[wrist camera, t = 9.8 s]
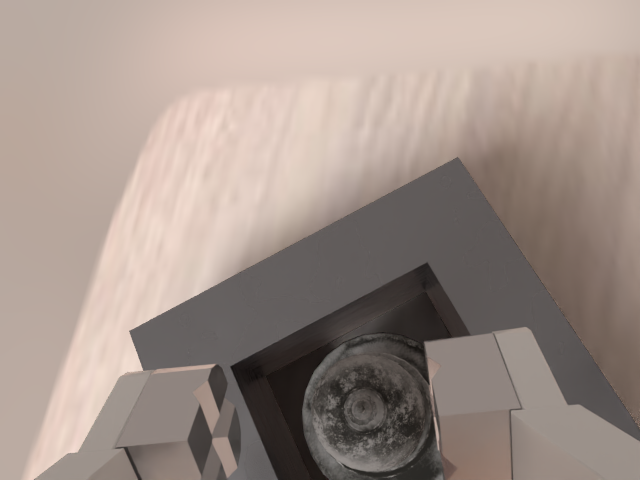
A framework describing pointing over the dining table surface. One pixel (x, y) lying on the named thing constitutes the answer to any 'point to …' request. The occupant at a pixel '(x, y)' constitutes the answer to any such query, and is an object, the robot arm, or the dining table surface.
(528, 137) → the dining table surface
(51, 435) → the dining table surface
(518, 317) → the square frame
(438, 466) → the grey chess piece
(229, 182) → the dining table surface
